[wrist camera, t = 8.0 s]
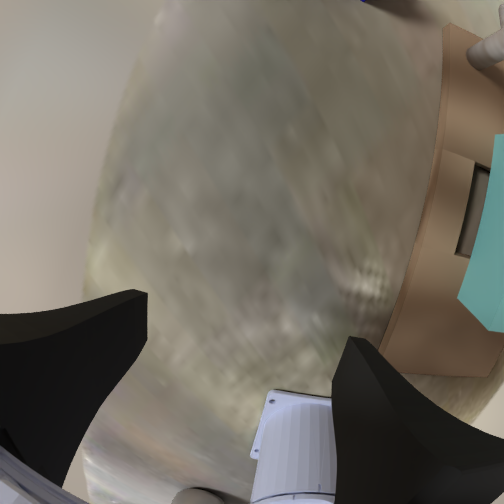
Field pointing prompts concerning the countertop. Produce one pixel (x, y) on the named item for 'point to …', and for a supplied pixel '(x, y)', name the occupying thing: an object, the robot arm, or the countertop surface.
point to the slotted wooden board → (451, 219)
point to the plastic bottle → (196, 497)
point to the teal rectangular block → (488, 252)
